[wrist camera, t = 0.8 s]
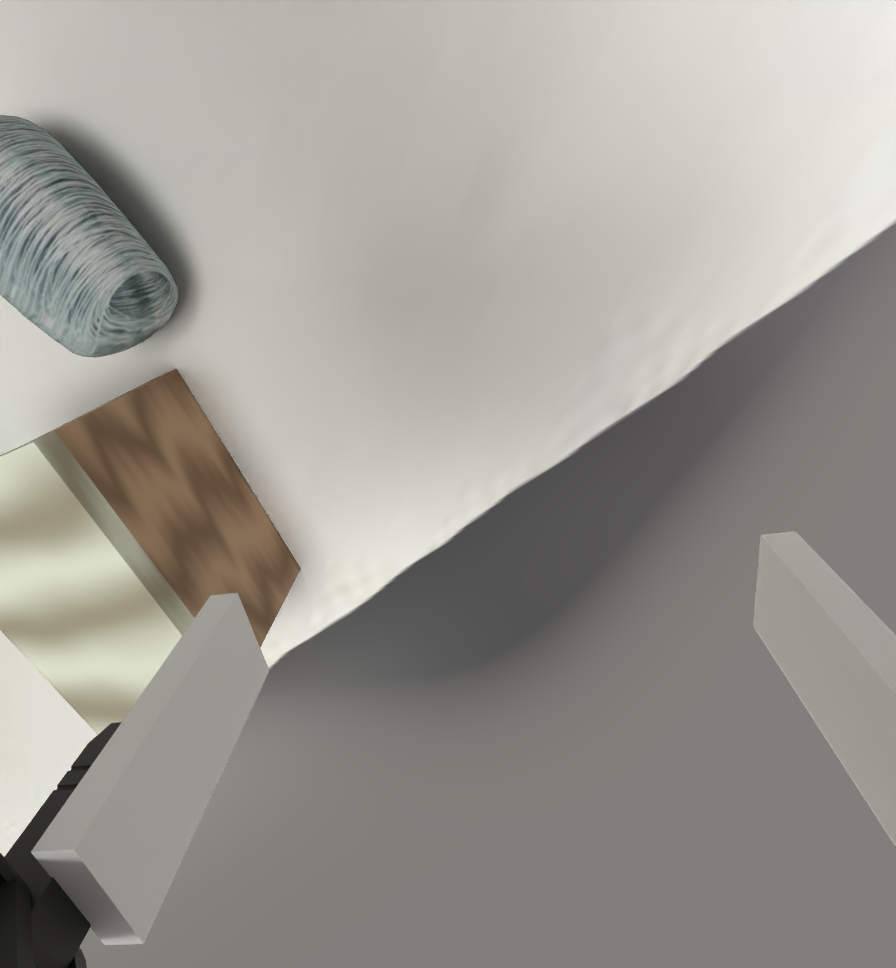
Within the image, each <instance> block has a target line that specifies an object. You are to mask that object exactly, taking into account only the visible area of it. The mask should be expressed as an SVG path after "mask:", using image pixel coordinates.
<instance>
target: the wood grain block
mask: <svg viewBox="0 0 896 968" xmlns="http://www.w3.org/2000/svg"><path fill="white" fill-rule="evenodd" d="M299 571H300V567H299V565H298V564H297V562H296V561H295V559H294V557H293V556H292V554H291V553H290V551H289V549H288V548H287V546H286V545H285V543H284V541H283V540H282V538H281V537H280V535H279V533H278V532H277V530H276V528H275V527H274V525H273V524H272V522H271V520H270V519H269V517H268V516H267V514H266V512H265V511H264V509H263V508H262V506H261V504H260V503H259V501H258V500H257V498H256V496H255V495H254V493H253V491H252V490H251V488H250V487H249V485H248V483H247V482H246V480H245V479H244V477H243V475H242V474H241V472H240V471H239V469H238V467H237V466H236V464H235V463H234V461H233V459H232V458H231V456H230V454H229V453H228V451H227V450H226V448H225V446H224V445H223V443H222V442H221V440H220V438H219V437H218V435H217V434H216V432H215V430H214V429H213V427H212V426H211V424H210V422H209V421H208V419H207V417H206V416H205V414H204V413H203V411H202V409H201V408H200V406H199V405H198V403H197V401H196V400H195V398H194V397H193V395H192V393H191V392H190V390H189V389H188V387H187V385H186V384H185V382H184V381H183V379H182V377H181V376H180V374H179V372H178V371H177V369H175V370H173V371H170V372H168V373H166V374H164V375H162V376H159V377H157V378H155V379H153V380H151V381H149V382H147V383H145V384H143V385H141V386H139V387H137V388H135V389H133V390H131V391H129V392H127V393H125V394H123V395H121V396H119V397H117V398H115V399H113V400H111V401H109V402H107V403H106V404H104V405H102V406H100V407H98V408H96V409H94V410H92V411H90V412H88V413H86V414H84V415H82V416H80V417H78V418H76V419H74V420H72V421H70V422H68V423H66V424H64V425H62V426H60V427H58V428H56V429H54V430H52V431H50V432H48V433H46V434H44V435H43V436H41V437H39V438H37V439H35V440H33V441H31V442H29V443H27V444H25V445H23V446H20V447H18V448H16V449H14V450H11V451H9V452H7V453H5V454H3V455H0V630H1V631H2V632H3V633H4V635H5V636H6V637H7V638H8V639H9V640H10V641H11V642H12V643H13V644H14V645H15V646H16V647H17V648H18V650H19V651H20V652H21V653H22V654H23V655H24V656H25V657H26V658H27V659H28V660H29V661H30V662H31V663H32V665H33V666H34V667H35V668H36V669H37V670H38V671H39V672H40V673H41V674H42V675H43V676H44V677H45V678H46V680H47V681H48V682H49V683H50V684H51V685H52V686H53V687H54V688H55V689H56V690H57V691H58V692H59V693H60V695H61V696H62V697H63V698H64V699H65V700H66V701H67V702H68V703H69V704H70V705H71V706H72V707H73V709H74V710H75V711H76V712H77V713H78V714H79V715H80V716H81V717H82V718H83V719H84V720H85V721H86V722H87V724H88V725H89V726H90V727H91V728H92V729H93V730H94V731H95V732H96V733H97V734H99V733H101V732H102V731H103V730H104V729H105V728H106V727H107V726H108V725H110V724H111V723H117V722H122V721H123V720H124V718H125V717H126V715H127V714H128V713H129V711H130V710H131V708H132V707H133V705H134V704H135V703H136V701H137V700H138V698H139V697H140V695H141V694H142V693H143V691H144V690H145V688H146V687H147V685H148V684H149V683H150V681H151V680H152V678H153V677H154V676H155V674H156V673H157V671H158V670H159V668H160V667H161V666H162V664H163V663H164V661H165V660H166V658H167V657H168V656H169V654H170V653H171V651H172V650H173V648H174V647H175V646H176V644H177V643H178V641H179V640H180V638H181V637H182V636H183V634H184V633H185V631H186V630H187V628H188V627H189V626H190V624H191V623H192V621H193V620H194V618H195V617H196V616H197V614H198V613H199V611H200V610H201V608H202V607H203V606H204V604H205V603H206V601H207V600H208V598H209V597H210V596H211V595H220V594H229V593H238V595H239V597H240V600H241V602H242V605H243V607H244V610H245V612H246V615H247V617H248V619H249V622H250V624H251V627H252V629H253V632H254V634H255V637H256V639H257V642H258V644H259V647H261V645H262V643H263V641H264V639H265V637H266V635H267V633H268V631H269V629H270V627H271V626H272V624H273V622H274V620H275V618H276V616H277V614H278V612H279V610H280V608H281V606H282V604H283V602H284V600H285V598H286V596H287V594H288V592H289V590H290V588H291V586H292V584H293V583H294V581H295V579H296V577H297V575H298V573H299Z"/></svg>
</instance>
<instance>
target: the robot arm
mask: <svg viewBox="0 0 896 968" xmlns="http://www.w3.org/2000/svg"><path fill="white" fill-rule="evenodd" d="M753 626H754V628H755V630H756V631H757V633H758V635H759V636H760V638H761V639H762V641H763V642H764V644H765V645H766V647H767V648H768V650H769V652H770V653H771V655H772V656H773V658H774V659H775V661H776V662H777V664H778V666H779V667H780V669H781V670H782V671H783V673H784V675H785V676H786V678H787V679H788V681H789V683H790V684H791V686H792V687H793V689H794V690H795V692H796V693H797V695H798V696H799V698H800V700H801V701H802V703H803V704H804V706H805V707H806V709H807V711H808V712H809V714H810V715H811V717H812V718H813V720H814V721H815V723H816V724H817V726H818V728H819V729H820V731H821V732H822V733H823V735H824V737H825V738H826V740H827V742H828V743H829V745H830V746H831V747H832V749H833V751H834V752H835V754H836V755H837V757H838V758H839V760H840V762H841V763H842V765H843V766H844V768H845V769H846V771H847V772H848V774H849V776H850V777H851V779H852V780H853V782H854V783H855V785H856V786H857V788H858V790H859V791H860V793H861V794H862V796H863V797H864V799H865V800H866V802H867V803H868V805H869V807H870V808H871V810H872V811H873V813H874V814H875V816H876V817H877V819H878V820H879V822H880V824H881V825H882V827H883V828H884V830H885V831H886V833H887V834H888V836H889V838H890V839H891V841H892V842H893V844H894V845H895V847H896V635H895V634H894V633H893V632H892V631H891V630H890V629H889V628H888V627H887V626H886V625H885V624H884V623H883V622H882V621H881V620H880V619H879V618H878V617H877V616H876V615H875V613H874V612H873V611H872V610H871V609H870V608H869V607H868V606H867V605H866V604H865V603H864V602H863V601H862V600H861V599H860V598H859V597H858V596H857V595H856V594H855V593H854V592H853V591H852V590H851V589H850V588H849V587H848V586H847V584H846V583H845V582H844V581H843V580H842V579H841V578H840V577H839V576H838V575H837V574H836V573H835V572H834V571H833V570H832V569H831V568H830V567H829V566H828V565H827V564H826V563H825V562H824V561H823V560H822V559H821V557H820V556H819V555H818V554H817V553H816V552H815V551H814V550H813V549H812V548H811V547H810V546H809V545H808V544H807V543H806V542H805V541H804V540H803V539H802V538H801V537H800V536H799V535H798V534H797V533H796V532H795V531H793V532H784V533H775V534H767V535H761V539H760V550H759V562H758V575H757V587H756V599H755V612H754V624H753ZM268 672H269V669H268V666H267V664H266V661H265V659H264V656H263V654H262V651H261V649H260V647H259V644H258V642H257V639H256V637H255V634H254V632H253V629H252V627H251V624H250V622H249V619H248V617H247V615H246V612H245V610H244V607H243V605H242V602H241V600H240V597H239V595H238V593H229V594H220V595H211V596H210V597H209V598H208V600H207V601H206V603H205V604H204V606H203V607H202V608H201V610H200V611H199V613H198V614H197V616H196V617H195V618H194V620H193V621H192V623H191V624H190V626H189V627H188V628H187V630H186V631H185V633H184V634H183V636H182V637H181V638H180V640H179V641H178V643H177V644H176V646H175V647H174V648H173V650H172V651H171V653H170V654H169V656H168V657H167V658H166V660H165V661H164V663H163V664H162V666H161V667H160V668H159V670H158V671H157V673H156V674H155V676H154V677H153V678H152V680H151V681H150V683H149V684H148V685H147V687H146V688H145V690H144V691H143V693H142V694H141V695H140V697H139V698H138V700H137V701H136V703H135V704H134V705H133V707H132V708H131V710H130V711H129V713H128V714H127V715H126V717H125V718H124V720H123V721H122V722H117V723H111V724H110V725H108V726H107V727H106V728H105V729H104V730H103V731H102V732H101V733H99V734H98V735H97V736H96V737H95V738H94V739H93V740H92V741H90V742H89V743H88V744H87V746H86V747H85V749H84V750H83V751H82V753H81V754H80V755H79V757H78V758H77V759H76V761H75V762H74V763H73V765H72V766H71V771H68V772H67V773H66V774H65V776H64V777H63V778H62V780H61V781H60V783H59V784H58V785H57V786H58V788H57V790H54V791H53V792H52V793H51V795H50V796H49V797H48V799H47V800H46V802H45V803H44V804H43V806H42V807H41V808H40V810H39V811H38V812H37V814H36V815H35V816H34V818H33V819H32V821H31V822H30V823H29V825H28V826H27V827H26V829H25V830H24V831H23V833H22V834H21V836H20V837H19V838H18V840H17V841H16V842H15V844H14V845H13V846H12V848H11V849H10V850H9V852H8V853H7V855H6V856H5V857H3V856H2V854H1V853H0V968H86V960H85V957H84V955H83V953H82V950H81V949H80V948H79V947H80V944H81V943H82V941H83V939H84V937H85V935H86V934H87V932H88V930H89V928H90V927H91V928H92V929H93V931H94V932H95V933H96V934H97V936H98V937H99V938H100V940H101V941H102V942H103V943H104V945H114V944H143V943H144V941H145V939H146V937H147V935H148V933H149V930H150V928H151V926H152V924H153V922H154V920H155V917H156V915H157V913H158V911H159V909H160V906H161V904H162V902H163V900H164V898H165V896H166V894H167V891H168V889H169V887H170V884H171V883H172V880H173V878H174V876H175V874H176V872H177V870H178V868H179V865H180V863H181V861H182V859H183V857H184V855H185V852H186V850H187V848H188V846H189V844H190V842H191V839H192V837H193V835H194V833H195V831H196V829H197V826H198V824H199V822H200V820H201V818H202V815H203V813H204V811H205V809H206V807H207V805H208V802H209V800H210V798H211V796H212V794H213V792H214V789H215V787H216V785H217V783H218V781H219V779H220V776H221V774H222V772H223V770H224V768H225V766H226V763H227V761H228V759H229V757H230V755H231V753H232V750H233V748H234V746H235V744H236V742H237V739H238V737H239V735H240V733H241V731H242V729H243V727H244V724H245V722H246V720H247V718H248V716H249V713H250V711H251V709H252V707H253V705H254V702H255V700H256V698H257V696H258V694H259V691H260V690H261V687H262V685H263V683H264V681H265V679H266V677H267V674H268Z"/></svg>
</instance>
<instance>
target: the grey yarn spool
mask: <svg viewBox="0 0 896 968" xmlns="http://www.w3.org/2000/svg"><path fill="white" fill-rule="evenodd" d="M0 295H1V296H2V297H3V298H5V299H6V300H7V301H8V302H9V303H10V304H11V305H13V306H14V307H15V308H16V309H17V310H18V311H19V312H20V313H21V314H22V315H23V316H25V317H26V318H27V319H28V320H30V321H31V322H32V323H34V324H35V325H36V326H38V327H39V328H40V329H41V330H43V331H44V332H45V333H46V334H48V335H49V336H50V337H51V338H53V339H54V340H56V341H57V342H58V343H60V344H61V345H63V346H64V347H66V348H67V349H68V350H69V351H71V352H72V353H74V354H77V355H81V356H87V357H101V356H106V355H111V354H115V353H118V352H121V351H124V350H127V349H129V348H131V347H133V346H135V345H137V344H139V343H141V342H143V341H145V340H146V339H148V338H149V337H150V336H152V335H153V334H154V333H155V332H156V331H158V330H159V329H161V328H162V326H163V325H164V324H165V323H166V322H167V321H168V320H169V319H170V317H171V315H172V313H173V311H174V309H175V307H176V304H177V301H178V297H179V293H178V288H177V286H176V284H175V281H174V279H173V277H172V275H171V273H170V271H169V270H168V268H167V266H166V265H165V263H163V262H162V261H161V260H160V258H159V257H158V256H157V255H156V254H155V252H154V251H153V250H152V248H151V247H150V246H149V244H148V243H147V242H146V241H145V240H144V238H143V237H142V236H141V235H140V234H139V232H138V231H137V230H136V229H135V228H134V226H133V225H132V224H131V223H130V222H129V220H128V219H127V218H126V216H125V215H124V214H123V213H122V212H121V211H120V210H119V209H118V207H117V206H116V205H115V204H114V203H113V202H112V200H111V199H110V198H109V197H108V196H107V195H106V193H105V192H104V191H103V189H102V188H101V187H100V186H99V185H98V183H97V182H96V181H95V180H94V179H93V178H92V177H91V176H90V175H89V174H88V173H87V172H86V170H85V169H84V168H83V167H82V166H81V165H80V164H79V163H78V162H77V161H76V160H75V159H74V158H73V157H72V156H71V155H70V154H69V153H68V151H67V150H66V149H65V148H64V147H63V146H62V145H61V144H60V143H59V142H58V141H57V140H56V139H55V138H54V137H52V136H51V135H50V134H49V133H47V132H46V131H45V130H43V129H42V128H40V127H39V126H37V125H35V124H34V123H32V122H30V121H28V120H25V119H22V118H19V117H15V116H5V115H0Z"/></svg>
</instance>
